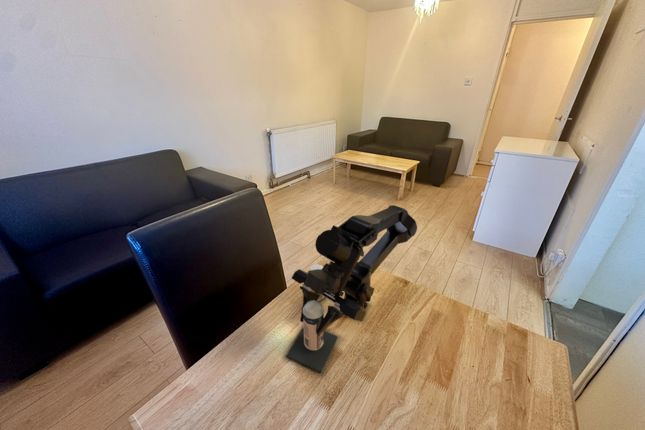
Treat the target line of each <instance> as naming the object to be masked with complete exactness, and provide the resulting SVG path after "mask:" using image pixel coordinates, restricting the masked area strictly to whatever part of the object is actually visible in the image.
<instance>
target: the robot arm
mask: <svg viewBox="0 0 645 430" xmlns="http://www.w3.org/2000/svg"><path fill="white" fill-rule="evenodd" d="M385 230H386V232H385V233H384V234H383V235H382V236H381V237H380V238H379V239H378V236H379V233H382V232H383V231H385ZM417 231H418V223H417V221H416V220H415V218H414V217H412V216H411V215H410V214H409V212H408V210H407V209H406V208H404V207H401V206H397V205H394V204H392V205H389V206H388V207H386V208H384V209H383V210H380V211H377V212H375V213H373V214H370V215H364V214H363V215H362V214H357V215H351V216H350V217H349V218H348V219H347V220H345V221H344V222H343V223H341V224H340V225H339V226H336V225H334V224H333V225H332V227H331V228H330V229H327V230H324V231H322V232H321V233H320V234H319V235H317V237H316V239H315V250H316V252H317V253H318V254H319V255H320V256H323V257H324V258H326V259H328V260H329V263H327V262H326V263H325V264H324V265H323V266H322V267H323V268H322V269H321V270H320V269H316V270H310V271H309V270H308V271H305V270H302V269H300V268H299V269H297V270H295V271H294V272H293V273H292V276H291V279H292V280H293V281H295V282H296V283H298V284H299V285H300V286H299V289H300V290H301V292H302V297H303V298H302V299H303V300H302V307H301V312H300V313H301V314H300V317H299V318H300V319H299V321H300V322H301V323H303V307H304V306H305V304H306V303H307V302H308V301H312V300H315V301H317V300H318V298H319V296H320V295H319V294H322V295H324V298H326V299H328V300H329V301H331V302H333V305H330V304H329V305H327V309H326V310H327V311H326V313H325V314H324V319H323V320H322V322H321V324H320V326H319V327H318V330H317V332H316V334H317V335H319V334H321V333H322V332H323V331H325V330H326V329H328V328H329V327H330V326H331V325H333V323H335V322H336V321H338V320H339V319H341V318H342V317H348V318H350V319H351V320H353V321H357V322H358V321H359V322H363V320H364V318H365V316H366V309H367V307H368V303H369V302H371V300H372V296H373V295H374V293H375V292H374V291H375V288H374V287H373V286H371V281H372V279H371V278H372V276H373V274H374V273H375V272H376V270H377V269H378V268H379V267H380V266H381V265H382V264H383V262H384V261H385V260H386V259H387V257H388V256H389V255H390V254H391V253H392V251H393V250H395V248H396V247H397V246H398V245H399V244H403V243H407V242H408V241H409V240H410V239H411V238H413V237H414V236H415V235H416V233H417ZM374 242H376V243H375V244H374ZM372 244H374V245H373V246H372V247H371V248H370V249H369V250H368V251H367V252H366V253H365V252H364V248H365V247H369V246H371V245H372ZM361 257H362V258H361ZM360 258H361V259H360ZM359 259H360V260H359ZM301 284H302V285H301ZM343 296H344V297H343Z"/></svg>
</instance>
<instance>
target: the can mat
mask: <svg viewBox="0 0 645 430" xmlns="http://www.w3.org/2000/svg"><path fill="white" fill-rule="evenodd" d="M338 338H339V337H338V335H336V334H333V333H330V332H328V331H325V330H324V331H323V341H324V342H323V345H322V347H321V348H320V349H318V350H309V349H307V348H306V347H305V345H304V327H302V330H301V331H300V333H299V335H298V336H297V338H296V339H295V340H294V343H293V344H292V346H291V347H290V349H289V350H288V352H287V354H286V355H285V357H286V358H288V359H290V360H292V361H294V362H296V363H299V364H301V365H303V366H305V367H307V368H309V369H311V370H313V371H315V372H317V373H320V374H322V372H323V370H324V367H325V365H326V364H327V361H328V360H329V357H330V355H331V353H332V351H333V349H334V347H335V344H336V342H337V341H338Z"/></svg>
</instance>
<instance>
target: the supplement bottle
mask: <svg viewBox="0 0 645 430" xmlns="http://www.w3.org/2000/svg"><path fill="white" fill-rule="evenodd" d="M323 267H324V266H323V265H321V264H318V263H315V264H312V265H310V266H309V269H308V271H310V270H316V269H320V270H321V269H322V268H323ZM319 295H320V296H319V298H318V300H317V301H319V302H320V301H321V300H323V299H324V298H325V296H324V295H322V294H319Z"/></svg>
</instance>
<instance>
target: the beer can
mask: <svg viewBox="0 0 645 430" xmlns="http://www.w3.org/2000/svg"><path fill="white" fill-rule="evenodd" d="M324 317H325V308H324V306H323V304H322V303H321V302H320V300H319V301H315V300H312V301H308V302H307V303H306V304H305V306H304V307H303V322H302V323H303V328H304V345H305V347H306V348H307V349H309V350H318V349H320V348H321V347H322V345H323V342H324V341H323V332H322V333H321V334H319V335H317V334H316V332H317V330H318V327H319V326H320V324H321V322H322V320H323V319H324Z"/></svg>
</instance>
